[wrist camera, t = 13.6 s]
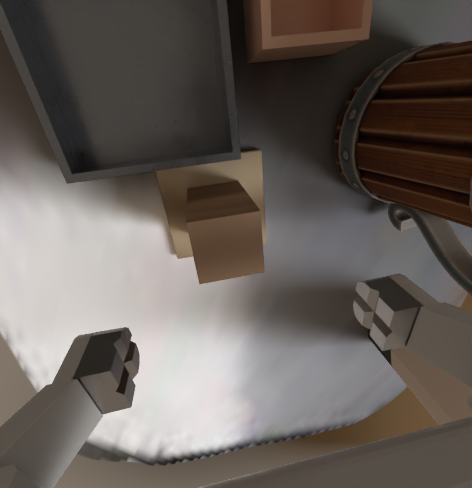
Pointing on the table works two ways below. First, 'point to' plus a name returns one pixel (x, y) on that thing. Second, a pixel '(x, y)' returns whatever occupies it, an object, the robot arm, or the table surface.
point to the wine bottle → (430, 385)
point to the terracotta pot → (303, 27)
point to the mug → (416, 145)
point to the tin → (127, 82)
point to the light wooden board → (182, 178)
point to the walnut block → (224, 231)
